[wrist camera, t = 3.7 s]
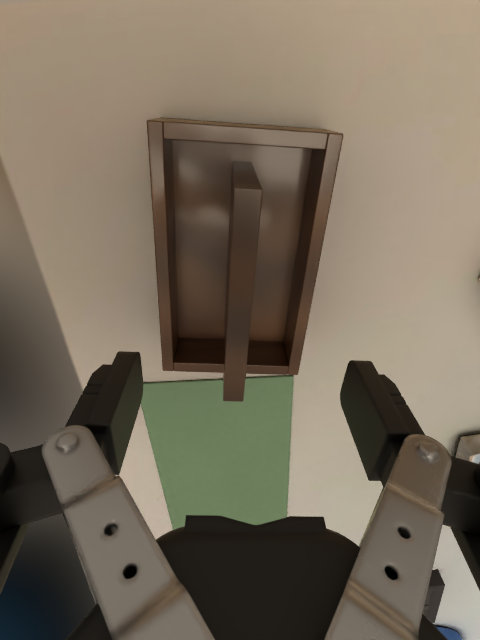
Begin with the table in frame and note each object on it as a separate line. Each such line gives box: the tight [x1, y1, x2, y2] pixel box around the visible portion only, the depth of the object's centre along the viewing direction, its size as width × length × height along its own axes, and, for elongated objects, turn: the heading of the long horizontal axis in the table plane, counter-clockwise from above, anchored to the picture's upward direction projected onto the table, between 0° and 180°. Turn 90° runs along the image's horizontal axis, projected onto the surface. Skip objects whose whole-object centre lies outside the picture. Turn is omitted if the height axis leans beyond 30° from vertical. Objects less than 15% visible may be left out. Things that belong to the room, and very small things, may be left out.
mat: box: [141, 375, 293, 530], centre depth 38 cm, size 24×14×1 cm, turn 2°
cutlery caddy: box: [147, 118, 343, 402], centre depth 22 cm, size 16×10×9 cm, turn 176°
